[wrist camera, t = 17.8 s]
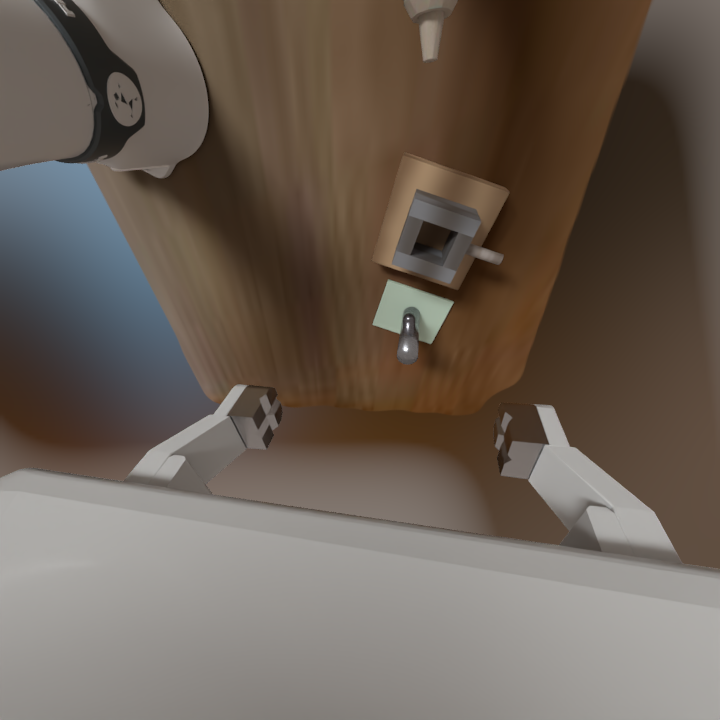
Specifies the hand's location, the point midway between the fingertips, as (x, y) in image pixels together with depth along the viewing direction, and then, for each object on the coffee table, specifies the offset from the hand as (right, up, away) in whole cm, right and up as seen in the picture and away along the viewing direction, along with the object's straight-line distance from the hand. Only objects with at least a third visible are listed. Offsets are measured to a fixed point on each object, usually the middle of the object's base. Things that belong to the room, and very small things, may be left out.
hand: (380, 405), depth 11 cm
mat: (+7, +9, +36) cm, 38 cm away
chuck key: (+7, +9, +36) cm, 37 cm away
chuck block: (+8, +19, +27) cm, 34 cm away
